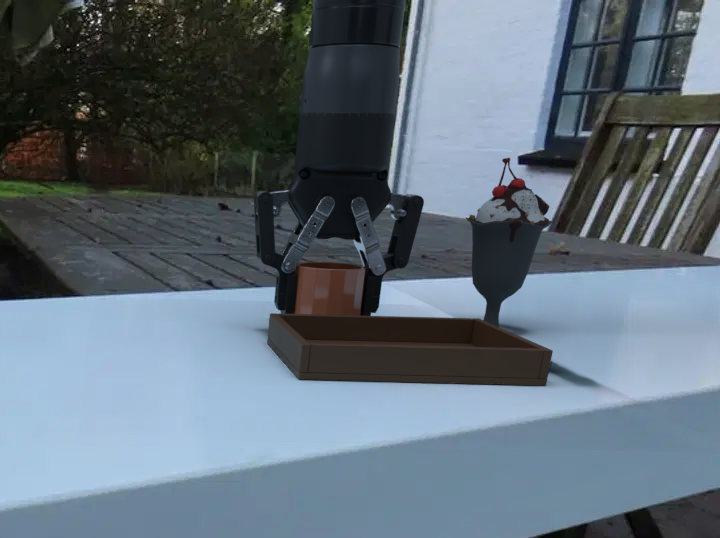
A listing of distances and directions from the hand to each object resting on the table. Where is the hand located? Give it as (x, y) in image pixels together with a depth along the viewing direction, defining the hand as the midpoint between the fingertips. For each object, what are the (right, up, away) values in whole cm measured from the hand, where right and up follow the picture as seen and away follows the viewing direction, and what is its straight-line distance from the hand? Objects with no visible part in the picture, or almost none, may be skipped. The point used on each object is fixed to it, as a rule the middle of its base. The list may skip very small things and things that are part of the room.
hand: (325, 316), depth 80 cm
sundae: (+14, -2, -1) cm, 14 cm away
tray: (+3, -5, -10) cm, 12 cm away
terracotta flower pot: (0, -2, +1) cm, 2 cm away
